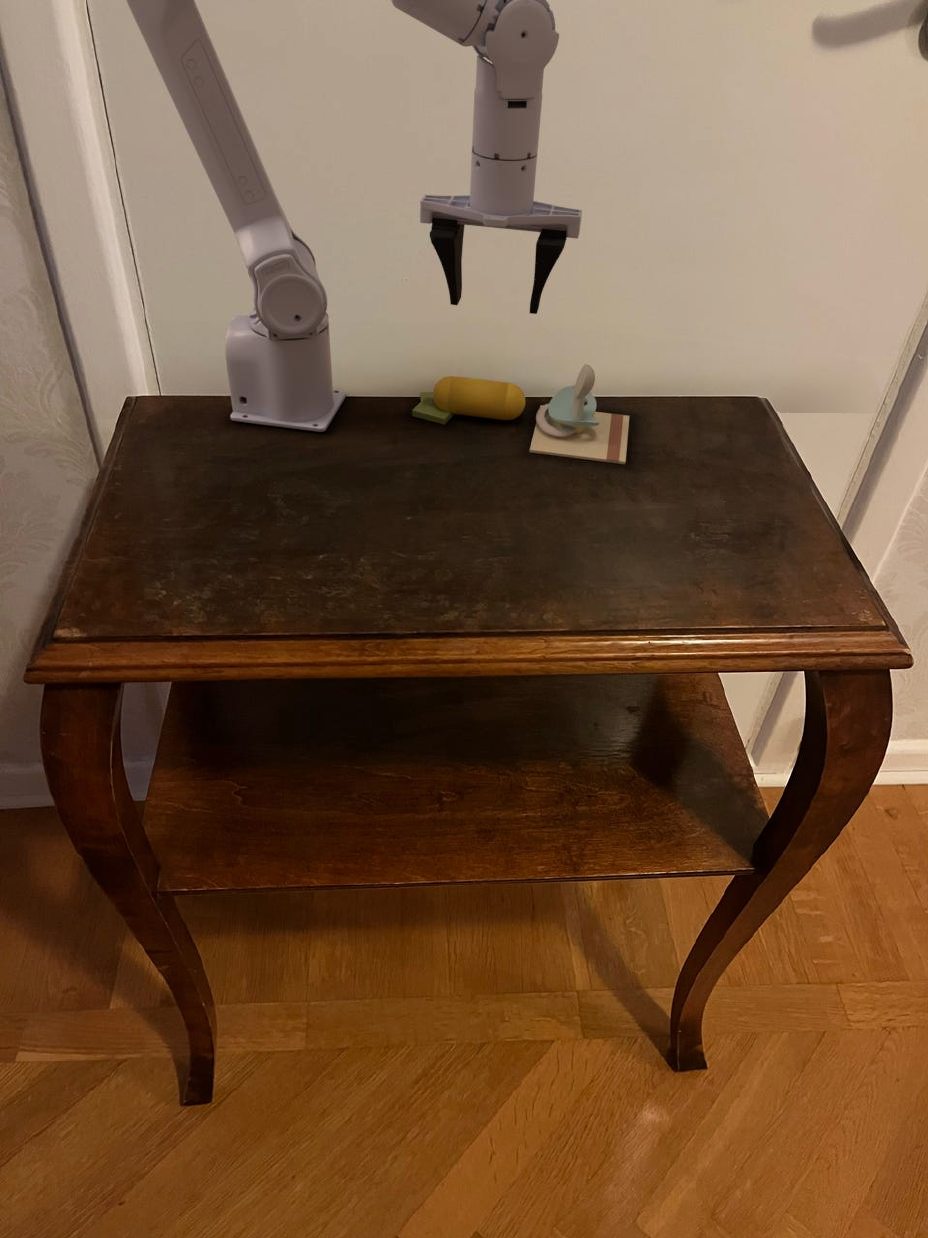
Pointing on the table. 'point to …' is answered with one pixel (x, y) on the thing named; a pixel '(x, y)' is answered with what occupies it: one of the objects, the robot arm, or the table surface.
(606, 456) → the towel
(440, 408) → the corn
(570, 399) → the pacifier
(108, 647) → the table surface
